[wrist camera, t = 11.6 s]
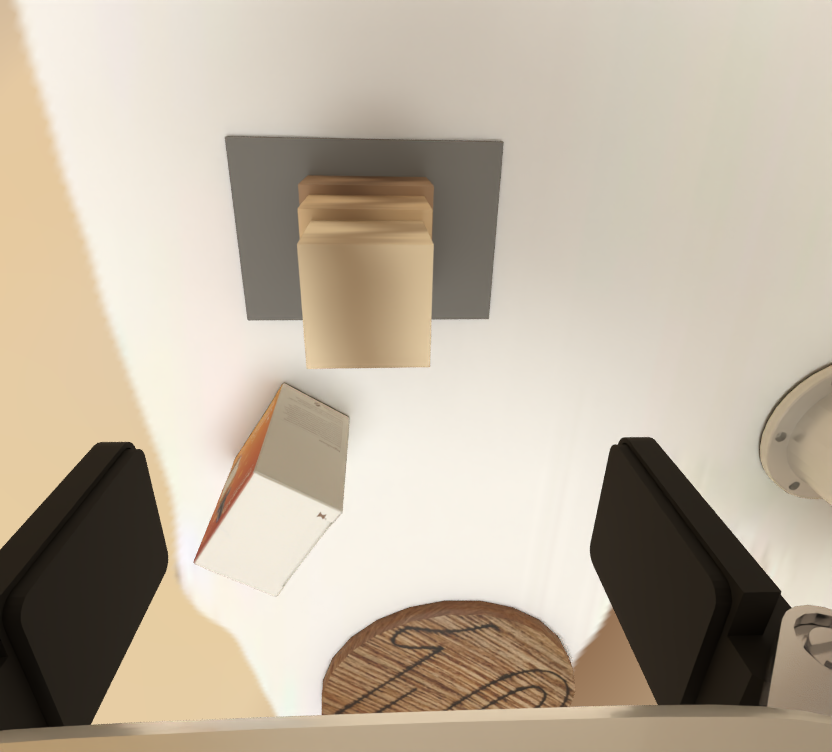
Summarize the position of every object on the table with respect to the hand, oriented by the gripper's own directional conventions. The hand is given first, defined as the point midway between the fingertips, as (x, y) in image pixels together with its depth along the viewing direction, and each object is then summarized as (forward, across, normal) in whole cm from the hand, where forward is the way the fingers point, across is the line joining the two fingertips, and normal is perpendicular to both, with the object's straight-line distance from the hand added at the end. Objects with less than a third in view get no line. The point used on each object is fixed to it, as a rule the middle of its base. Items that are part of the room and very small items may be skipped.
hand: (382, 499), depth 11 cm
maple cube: (+16, +1, 0) cm, 16 cm away
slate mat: (+26, +1, 0) cm, 26 cm away
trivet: (+27, -6, +45) cm, 52 cm away
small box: (+26, +7, +14) cm, 30 cm away
